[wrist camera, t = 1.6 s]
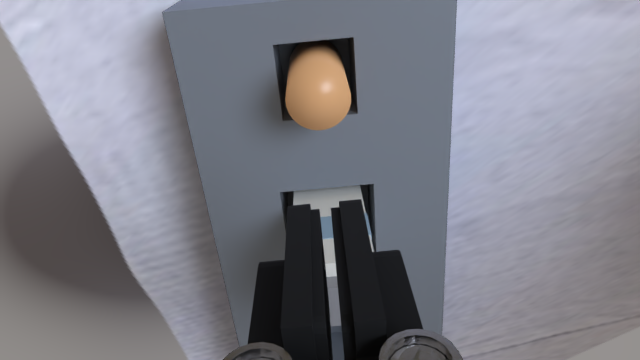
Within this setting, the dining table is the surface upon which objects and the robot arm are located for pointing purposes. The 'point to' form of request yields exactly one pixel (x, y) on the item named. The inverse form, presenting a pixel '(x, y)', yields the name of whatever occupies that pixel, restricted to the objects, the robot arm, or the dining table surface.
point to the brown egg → (317, 86)
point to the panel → (320, 145)
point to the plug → (330, 232)
